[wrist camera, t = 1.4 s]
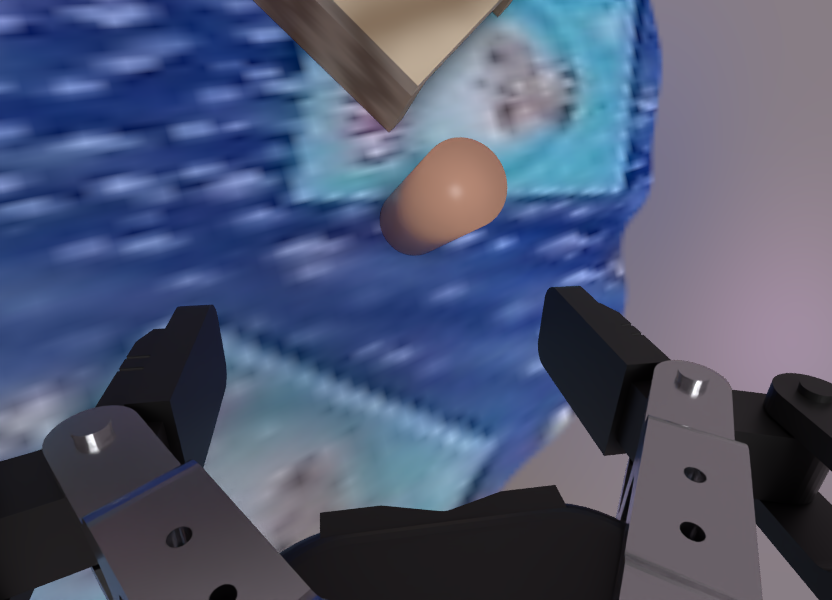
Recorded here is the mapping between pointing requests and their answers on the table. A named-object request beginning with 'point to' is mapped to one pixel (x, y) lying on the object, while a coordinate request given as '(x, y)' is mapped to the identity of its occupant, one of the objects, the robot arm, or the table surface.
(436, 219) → the tan dome-topped peg
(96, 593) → the table surface
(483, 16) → the wooden stand
